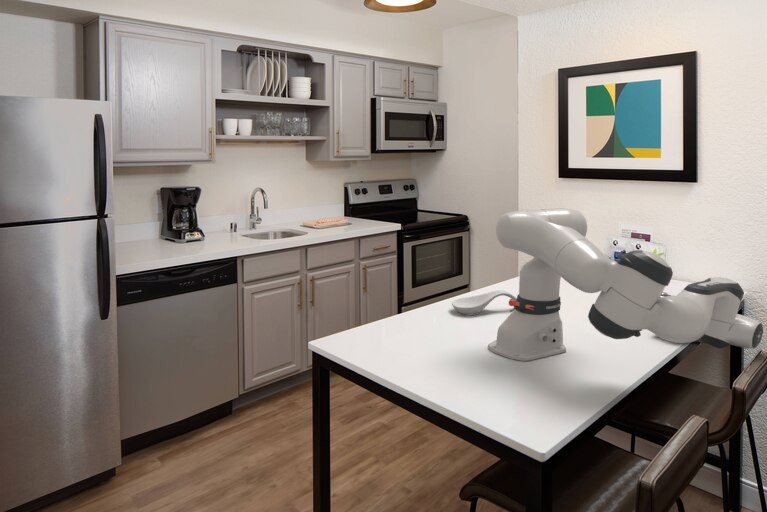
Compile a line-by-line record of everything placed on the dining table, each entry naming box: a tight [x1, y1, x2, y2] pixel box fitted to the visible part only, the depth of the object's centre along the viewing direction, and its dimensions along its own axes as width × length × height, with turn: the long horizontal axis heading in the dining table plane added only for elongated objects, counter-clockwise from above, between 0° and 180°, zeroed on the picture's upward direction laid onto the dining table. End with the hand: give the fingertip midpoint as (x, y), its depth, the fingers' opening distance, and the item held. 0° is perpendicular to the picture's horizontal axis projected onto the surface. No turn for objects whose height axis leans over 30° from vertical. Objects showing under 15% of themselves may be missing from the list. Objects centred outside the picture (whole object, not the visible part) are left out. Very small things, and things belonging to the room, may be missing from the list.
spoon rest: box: [451, 289, 517, 315], centre depth 191 cm, size 24×12×7 cm, turn 97°
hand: (659, 308), depth 173 cm, fingers closed on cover, 5 cm apart
